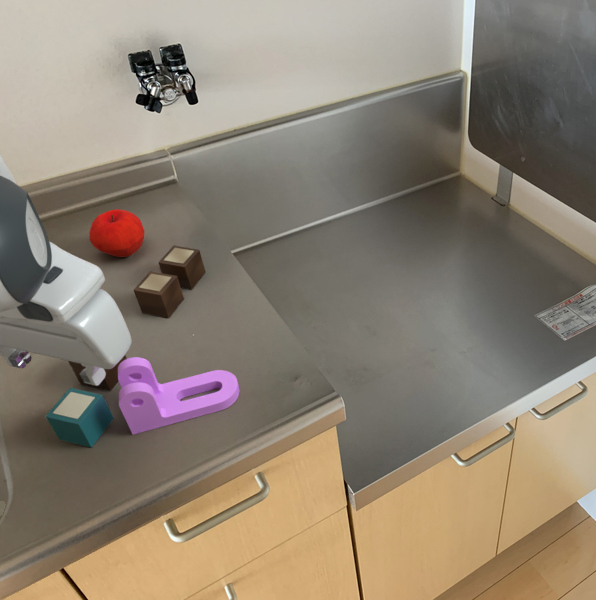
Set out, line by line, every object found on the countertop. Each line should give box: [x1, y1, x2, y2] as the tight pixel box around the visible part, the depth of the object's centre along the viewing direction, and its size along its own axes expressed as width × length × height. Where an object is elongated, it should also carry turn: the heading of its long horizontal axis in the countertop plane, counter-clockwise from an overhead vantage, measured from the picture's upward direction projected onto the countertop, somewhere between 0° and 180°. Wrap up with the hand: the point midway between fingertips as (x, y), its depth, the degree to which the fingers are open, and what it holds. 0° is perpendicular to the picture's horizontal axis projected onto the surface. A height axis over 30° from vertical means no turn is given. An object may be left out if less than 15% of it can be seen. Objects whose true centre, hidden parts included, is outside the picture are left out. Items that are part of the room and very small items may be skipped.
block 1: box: [68, 354, 128, 392], centre depth 78 cm, size 4×4×4 cm
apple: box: [88, 208, 145, 258], centre depth 97 cm, size 8×8×7 cm
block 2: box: [158, 245, 206, 291], centre depth 93 cm, size 4×4×4 cm
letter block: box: [44, 387, 115, 449], centre depth 71 cm, size 4×4×4 cm
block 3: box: [133, 270, 185, 319], centre depth 88 cm, size 4×4×4 cm
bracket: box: [118, 356, 241, 436], centre depth 74 cm, size 13×6×7 cm, turn 111°
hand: (58, 371), depth 67 cm, fingers open, 8 cm apart
